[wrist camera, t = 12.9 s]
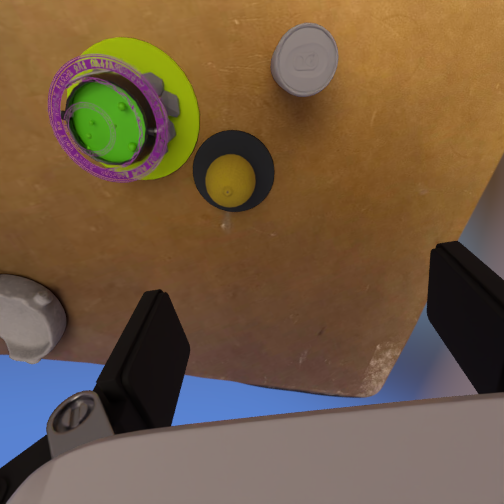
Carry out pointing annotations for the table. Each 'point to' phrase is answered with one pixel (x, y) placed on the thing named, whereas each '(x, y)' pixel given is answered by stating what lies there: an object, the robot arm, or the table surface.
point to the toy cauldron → (127, 110)
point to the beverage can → (305, 60)
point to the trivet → (240, 146)
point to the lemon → (230, 180)
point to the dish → (29, 318)
